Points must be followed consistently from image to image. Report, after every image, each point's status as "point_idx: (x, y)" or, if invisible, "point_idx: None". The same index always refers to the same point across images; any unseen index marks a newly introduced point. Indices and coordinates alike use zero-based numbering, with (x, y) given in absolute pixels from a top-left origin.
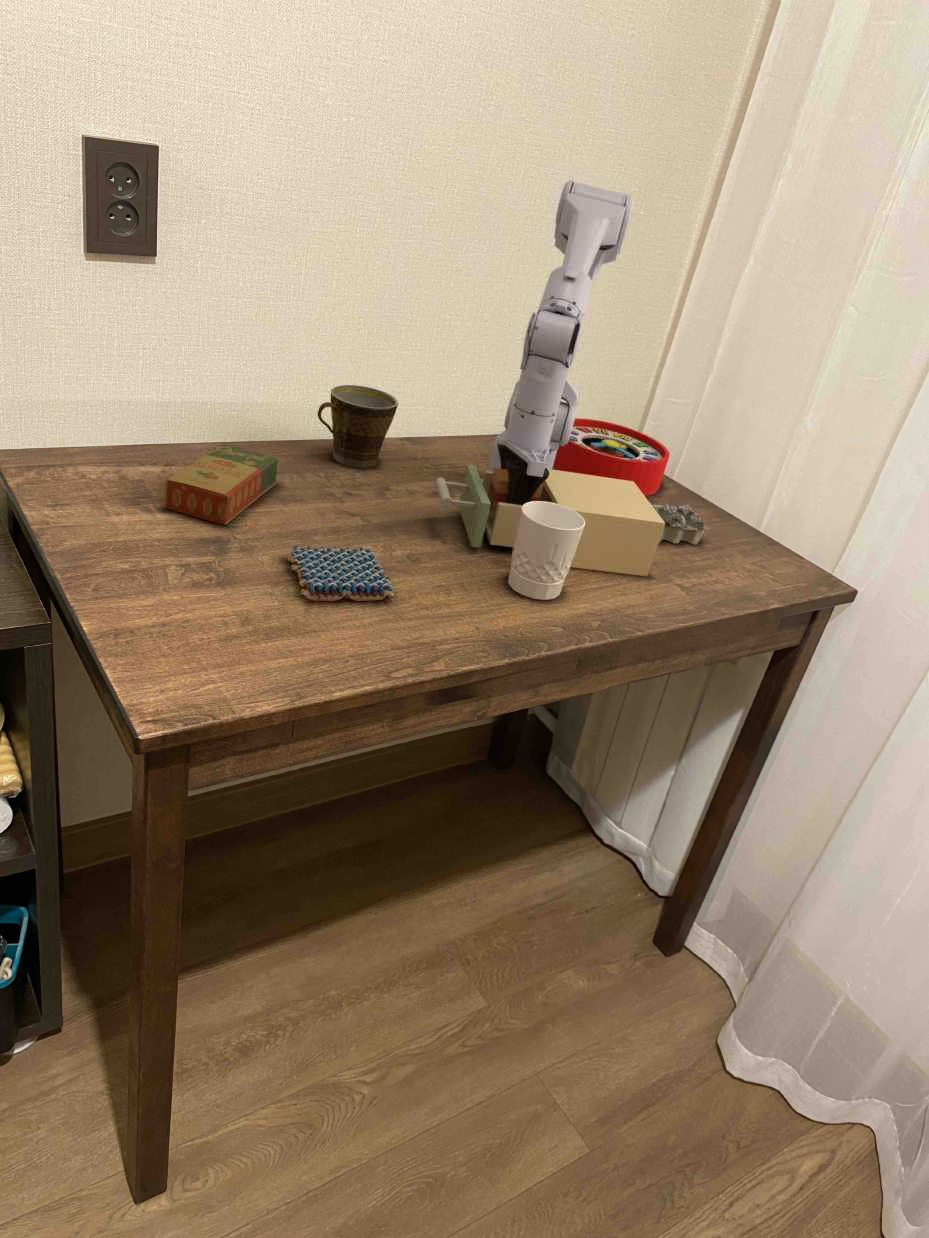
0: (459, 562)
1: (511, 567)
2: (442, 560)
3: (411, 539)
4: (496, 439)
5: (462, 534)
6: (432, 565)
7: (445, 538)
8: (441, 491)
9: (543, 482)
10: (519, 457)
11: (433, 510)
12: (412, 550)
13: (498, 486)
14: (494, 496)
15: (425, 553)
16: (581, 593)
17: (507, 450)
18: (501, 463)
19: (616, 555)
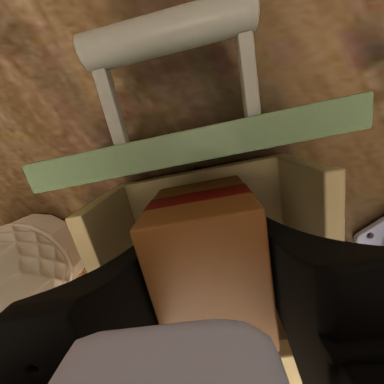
0: (58, 132)
1: (8, 224)
2: (46, 99)
3: (97, 21)
4: (179, 337)
5: (178, 130)
6: (14, 82)
7: (142, 97)
8: (133, 18)
9: (283, 345)
10: (305, 348)
11: (272, 55)
12: (49, 31)
13: (136, 221)
14: (158, 201)
15: (53, 61)
16: None
17: (326, 316)
18: (296, 244)
19: None
